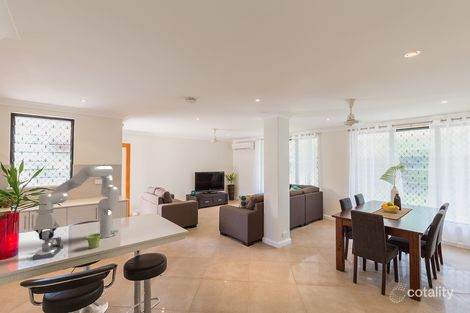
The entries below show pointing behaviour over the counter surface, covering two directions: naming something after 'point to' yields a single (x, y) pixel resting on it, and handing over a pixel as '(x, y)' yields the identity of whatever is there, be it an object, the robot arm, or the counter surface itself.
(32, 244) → the counter surface
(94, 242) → the plant pot
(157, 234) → the counter surface
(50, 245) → the spacer
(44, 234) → the spacer
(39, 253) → the scale
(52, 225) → the robot arm
